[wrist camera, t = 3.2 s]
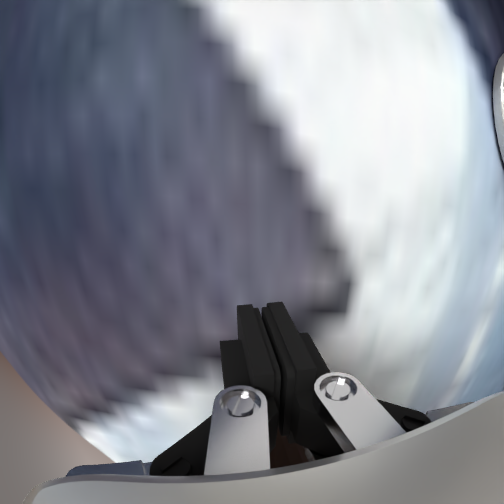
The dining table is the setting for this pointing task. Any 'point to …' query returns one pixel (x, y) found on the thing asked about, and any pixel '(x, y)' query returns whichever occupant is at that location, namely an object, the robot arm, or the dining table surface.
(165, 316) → the dining table surface
